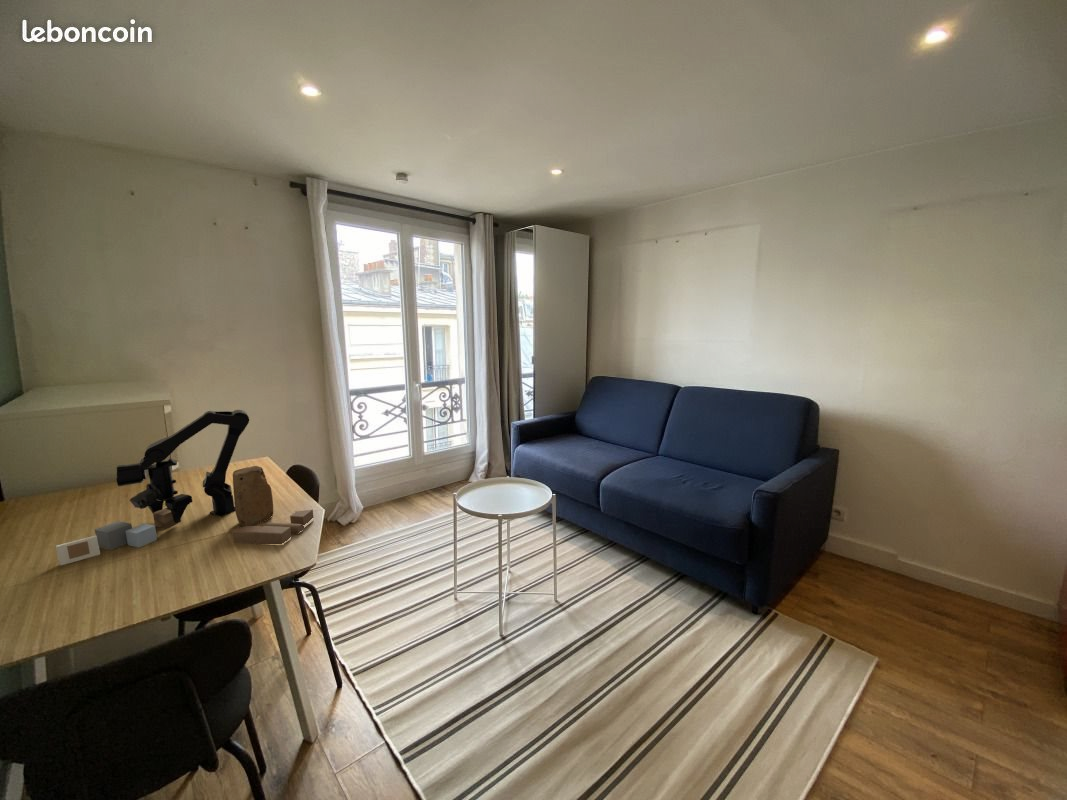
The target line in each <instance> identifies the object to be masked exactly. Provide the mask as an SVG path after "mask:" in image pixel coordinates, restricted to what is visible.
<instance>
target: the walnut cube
mask: <svg viewBox="0 0 1067 800" xmlns="http://www.w3.org/2000/svg"><path fill="white" fill-rule="evenodd" d="M166 508H167V507H164V508H163V509H162V510H159V511H157V512H154V513H152V517H153V522H154V526H155V527H158V528H162V529H167V528H169V527H171V526H174V525H176V524H178V523H175V522H174V519H173V516H172V513H171V511H170V510H168V509H166ZM181 522H182V518H181V519H180V522H179V523H181Z"/></svg>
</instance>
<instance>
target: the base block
mask: <svg viewBox="0 0 1067 800" xmlns="http://www.w3.org/2000/svg"><path fill="white" fill-rule="evenodd" d="M132 528H133V526H132V523H130V522H127V521H126V522H124V521H121V520H118V521H115V522H111V523H109V524H106V525H104V526H101V527H97V528H95V529H94V533H95V534H94V535H95V536H96V535H97V540H98V545H99V548H102V549H106V550H109V551H112V550H114V549H117V548H119V547H122V546H124V545H126V544H127V545H128V543H127V537H126V532H125V531H126V530H129V529H132Z"/></svg>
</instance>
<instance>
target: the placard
mask: <svg viewBox="0 0 1067 800" xmlns="http://www.w3.org/2000/svg"><path fill="white" fill-rule="evenodd" d="M55 547H56V548H55V549H56V554H57V559H58V563H59V566H64V565H68V564H71V563H75V562H78V561H82V560H85V559H89V558H92V557H97V556H100V555H101V549H100V547H99V545H98V540H97V535H96V534H95V535H92V536H88V537H84V538H81V539H80V538H79V539H77V540H73V541H69V542H64V543H62V544H57V545H55Z"/></svg>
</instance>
